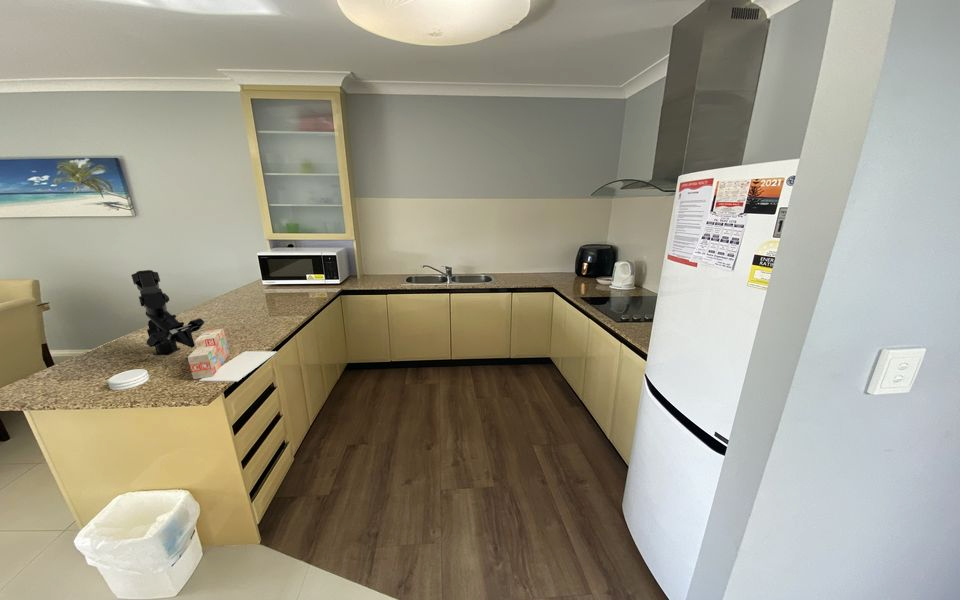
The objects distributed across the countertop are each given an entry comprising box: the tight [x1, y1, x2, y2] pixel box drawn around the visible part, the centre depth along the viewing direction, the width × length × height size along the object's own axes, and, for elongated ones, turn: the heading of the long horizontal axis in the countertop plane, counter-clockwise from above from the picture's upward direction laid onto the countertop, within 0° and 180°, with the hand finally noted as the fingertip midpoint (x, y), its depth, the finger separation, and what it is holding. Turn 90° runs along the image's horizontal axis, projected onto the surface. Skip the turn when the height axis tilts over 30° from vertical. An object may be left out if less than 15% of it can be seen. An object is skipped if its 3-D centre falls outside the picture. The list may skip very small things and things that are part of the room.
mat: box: [198, 350, 277, 383], centre depth 132 cm, size 14×25×1 cm, turn 1°
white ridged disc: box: [107, 368, 150, 391], centre depth 117 cm, size 10×10×4 cm
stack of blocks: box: [187, 328, 231, 380], centre depth 129 cm, size 21×6×12 cm, turn 23°
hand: (193, 346), depth 129 cm, fingers closed
